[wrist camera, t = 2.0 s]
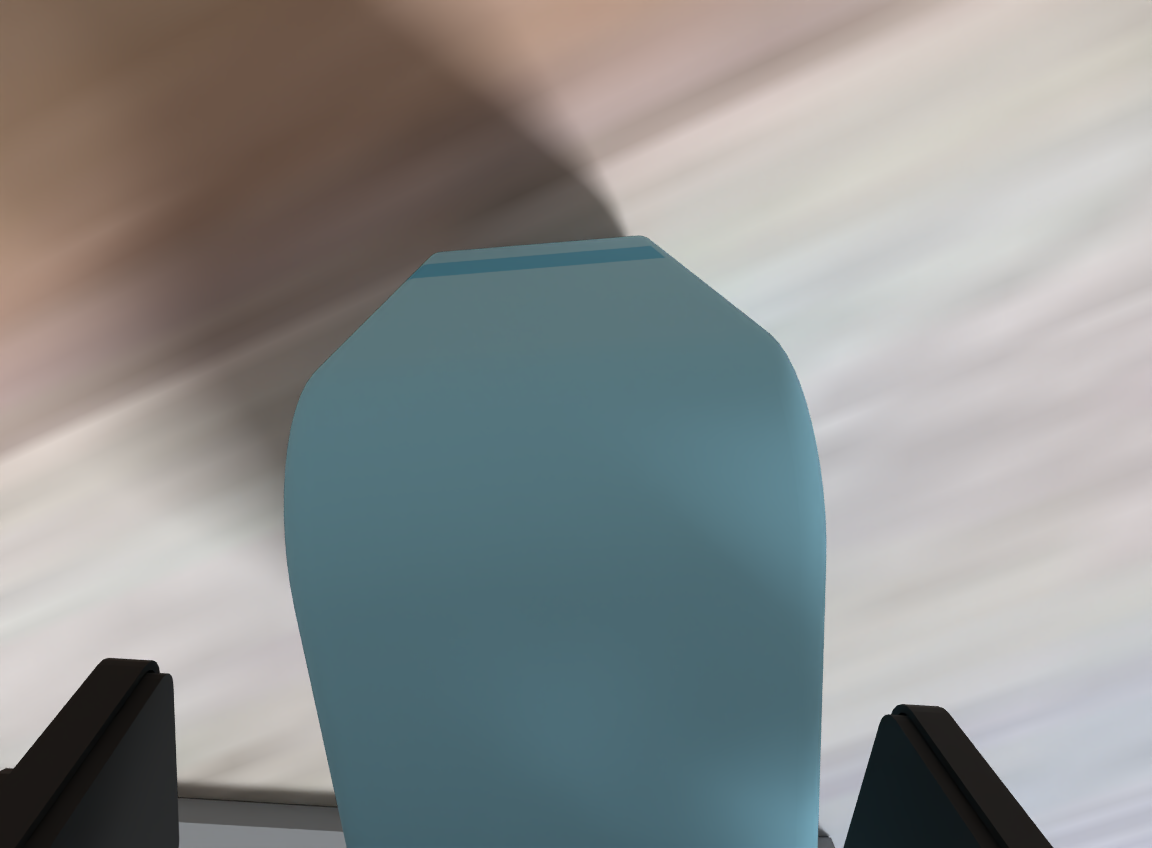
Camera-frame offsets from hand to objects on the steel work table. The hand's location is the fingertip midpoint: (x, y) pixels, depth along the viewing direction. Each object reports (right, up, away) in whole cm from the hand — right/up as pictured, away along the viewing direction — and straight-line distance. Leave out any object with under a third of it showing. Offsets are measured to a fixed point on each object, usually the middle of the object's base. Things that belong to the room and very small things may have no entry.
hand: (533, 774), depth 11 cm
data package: (0, +3, +9) cm, 9 cm away
